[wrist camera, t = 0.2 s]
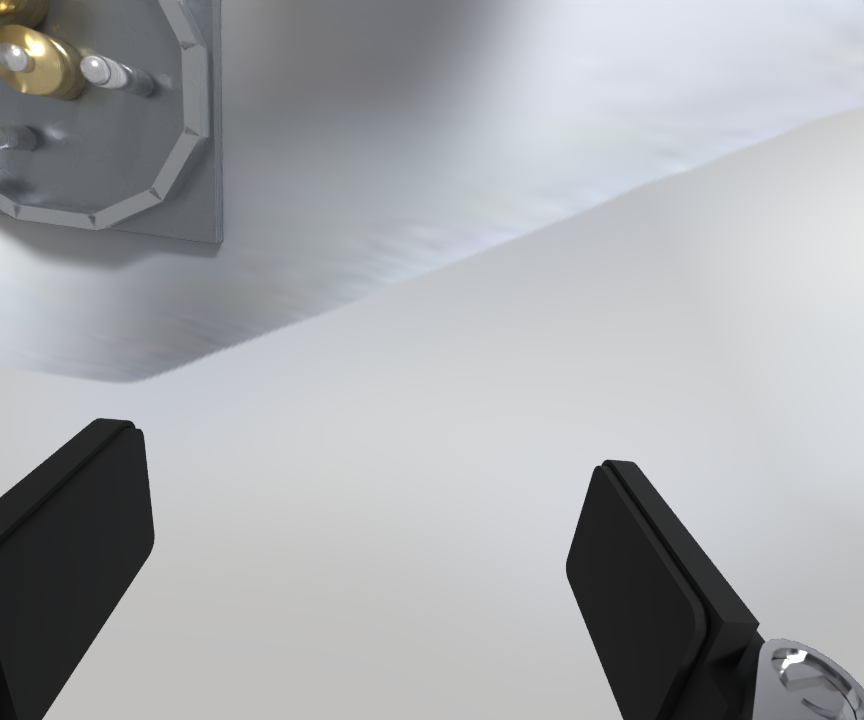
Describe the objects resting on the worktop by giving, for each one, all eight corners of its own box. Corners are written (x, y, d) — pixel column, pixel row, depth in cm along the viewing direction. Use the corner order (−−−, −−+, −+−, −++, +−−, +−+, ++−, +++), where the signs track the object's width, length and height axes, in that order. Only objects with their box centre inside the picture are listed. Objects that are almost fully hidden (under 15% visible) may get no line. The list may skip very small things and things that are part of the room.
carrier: (-131, -151, 28) (-298, -249, 22) (219, -78, 30) (167, -147, 24) (-56, 202, 36) (-163, 210, 29) (222, 241, 38) (183, 257, 31)
